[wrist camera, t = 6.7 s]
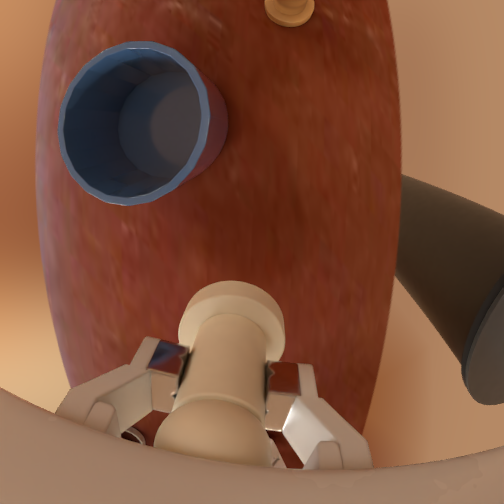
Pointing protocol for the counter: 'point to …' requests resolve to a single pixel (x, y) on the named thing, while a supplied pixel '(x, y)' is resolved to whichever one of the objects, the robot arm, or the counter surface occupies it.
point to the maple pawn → (289, 11)
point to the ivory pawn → (225, 375)
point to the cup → (140, 123)
